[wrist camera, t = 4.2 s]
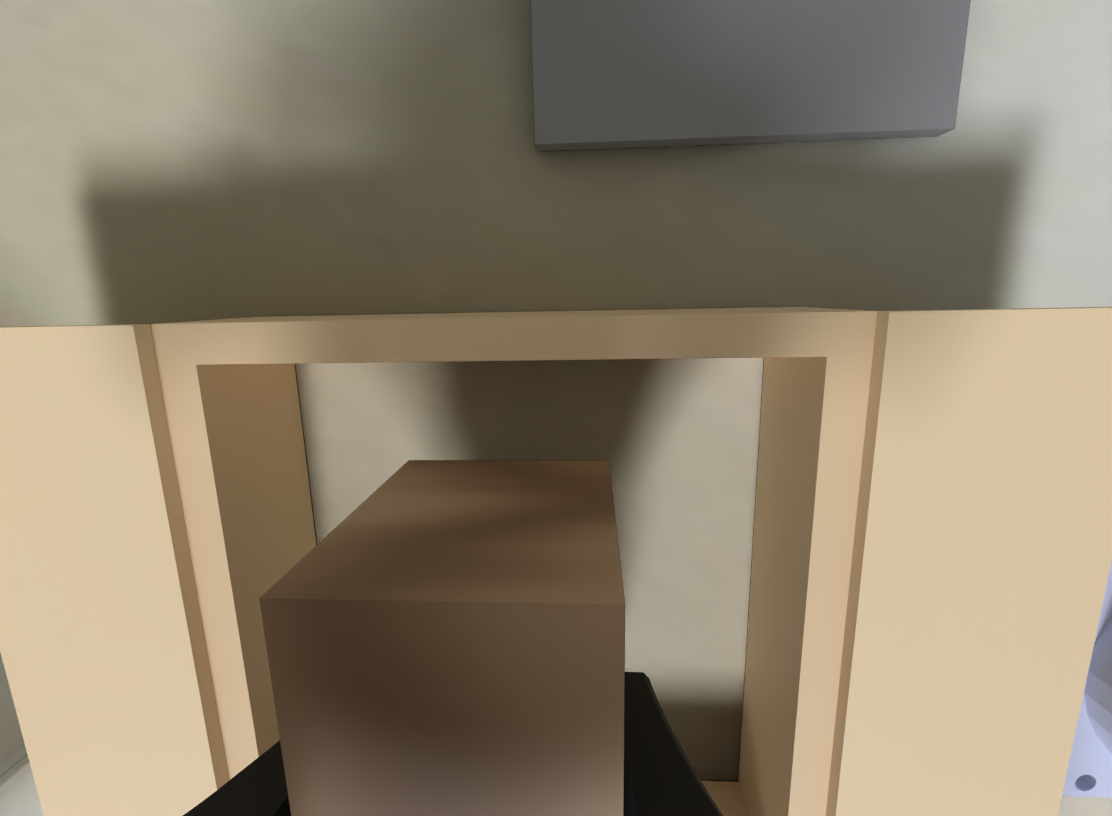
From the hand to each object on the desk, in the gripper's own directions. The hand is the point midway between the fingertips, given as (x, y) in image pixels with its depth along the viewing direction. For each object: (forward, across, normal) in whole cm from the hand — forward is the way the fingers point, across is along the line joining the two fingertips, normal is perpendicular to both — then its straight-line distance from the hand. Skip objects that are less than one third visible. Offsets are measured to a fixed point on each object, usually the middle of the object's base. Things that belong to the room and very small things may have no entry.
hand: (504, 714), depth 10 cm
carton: (+5, 0, 0) cm, 5 cm away
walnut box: (+2, 0, -1) cm, 2 cm away
